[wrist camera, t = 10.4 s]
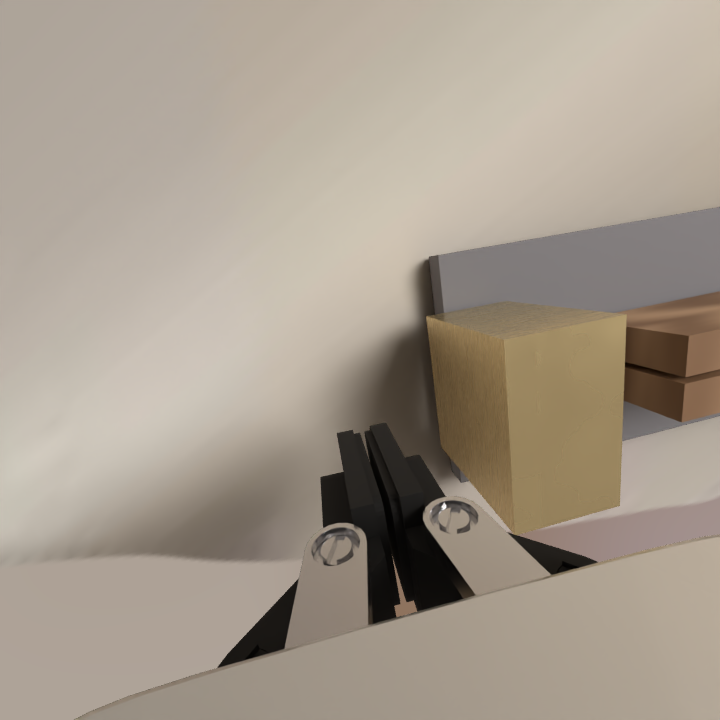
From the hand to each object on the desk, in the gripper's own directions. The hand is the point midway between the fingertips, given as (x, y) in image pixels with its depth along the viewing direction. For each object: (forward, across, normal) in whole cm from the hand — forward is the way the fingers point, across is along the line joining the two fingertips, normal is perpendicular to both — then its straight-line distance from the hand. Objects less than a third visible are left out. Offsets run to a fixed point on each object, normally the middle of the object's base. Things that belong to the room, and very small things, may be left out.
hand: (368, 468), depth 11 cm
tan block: (+5, -6, 0) cm, 8 cm away
